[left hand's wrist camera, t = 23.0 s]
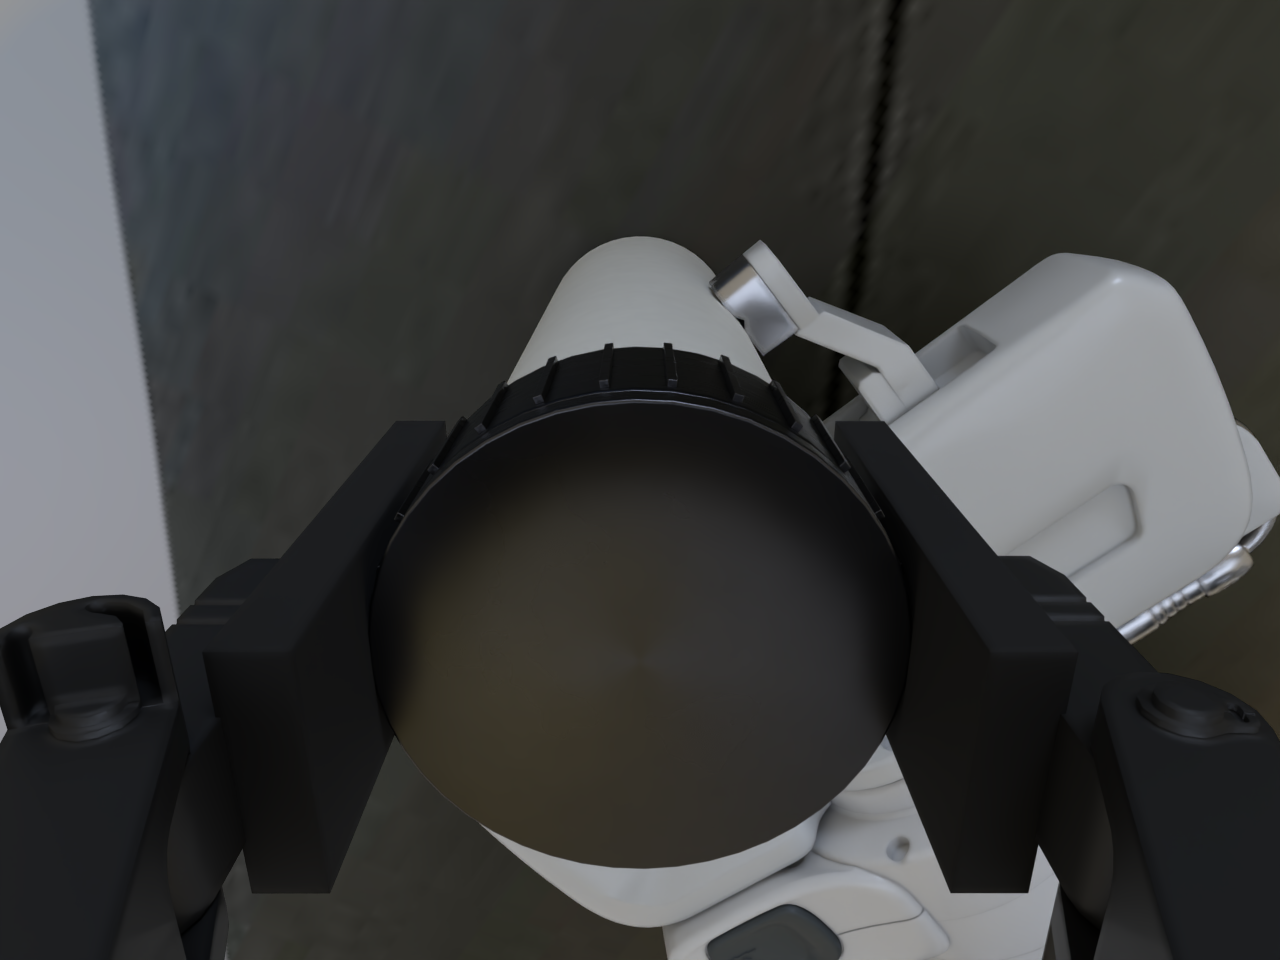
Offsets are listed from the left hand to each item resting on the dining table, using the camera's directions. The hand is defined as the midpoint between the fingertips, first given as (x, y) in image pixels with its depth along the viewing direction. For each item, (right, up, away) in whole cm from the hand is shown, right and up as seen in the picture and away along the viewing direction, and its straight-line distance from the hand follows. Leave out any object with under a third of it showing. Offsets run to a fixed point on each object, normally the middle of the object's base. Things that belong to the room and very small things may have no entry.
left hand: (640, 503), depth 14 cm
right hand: (-1, +3, +6) cm, 7 cm away
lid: (0, -1, -4) cm, 4 cm away
